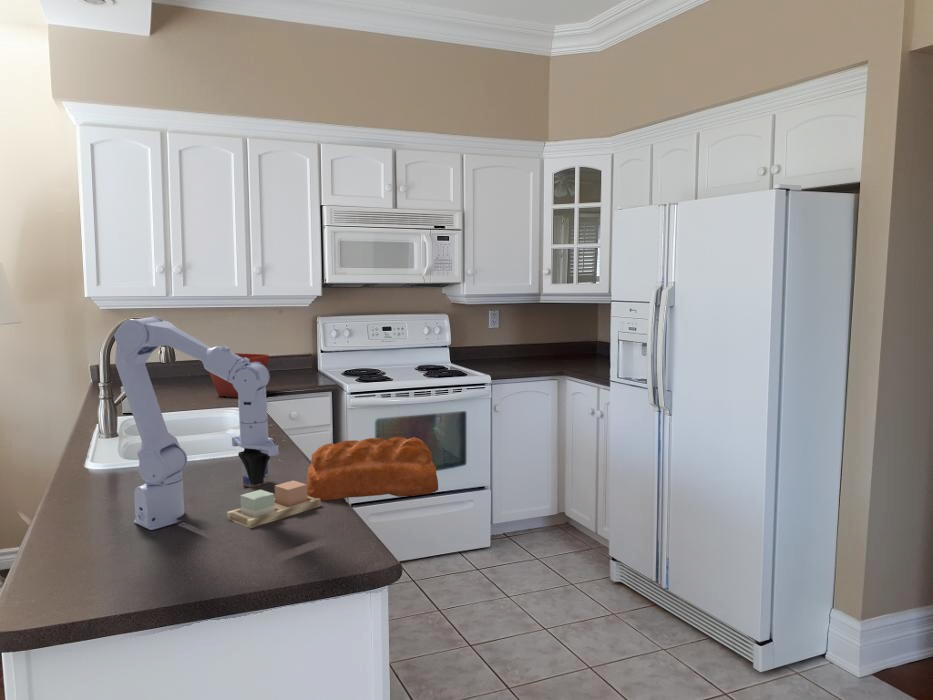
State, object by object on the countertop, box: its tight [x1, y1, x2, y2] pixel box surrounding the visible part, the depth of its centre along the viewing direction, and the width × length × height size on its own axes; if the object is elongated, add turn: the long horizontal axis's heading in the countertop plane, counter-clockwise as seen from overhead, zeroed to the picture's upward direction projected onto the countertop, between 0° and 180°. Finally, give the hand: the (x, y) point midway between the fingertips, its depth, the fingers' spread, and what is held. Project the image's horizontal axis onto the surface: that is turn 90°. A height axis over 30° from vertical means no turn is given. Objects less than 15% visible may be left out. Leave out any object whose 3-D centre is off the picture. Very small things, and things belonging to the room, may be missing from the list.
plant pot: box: [208, 352, 270, 398], centre depth 313 cm, size 19×19×17 cm
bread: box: [305, 436, 439, 501], centre depth 176 cm, size 16×31×13 cm, turn 104°
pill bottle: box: [241, 461, 269, 490], centre depth 181 cm, size 6×6×11 cm
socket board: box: [226, 495, 322, 529], centre depth 159 cm, size 18×9×3 cm, turn 139°
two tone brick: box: [239, 489, 275, 518], centre depth 155 cm, size 5×5×5 cm
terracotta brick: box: [274, 479, 308, 507], centre depth 162 cm, size 5×5×5 cm
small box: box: [120, 386, 132, 414], centre depth 278 cm, size 8×6×10 cm
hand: (256, 483), depth 155 cm, fingers closed
